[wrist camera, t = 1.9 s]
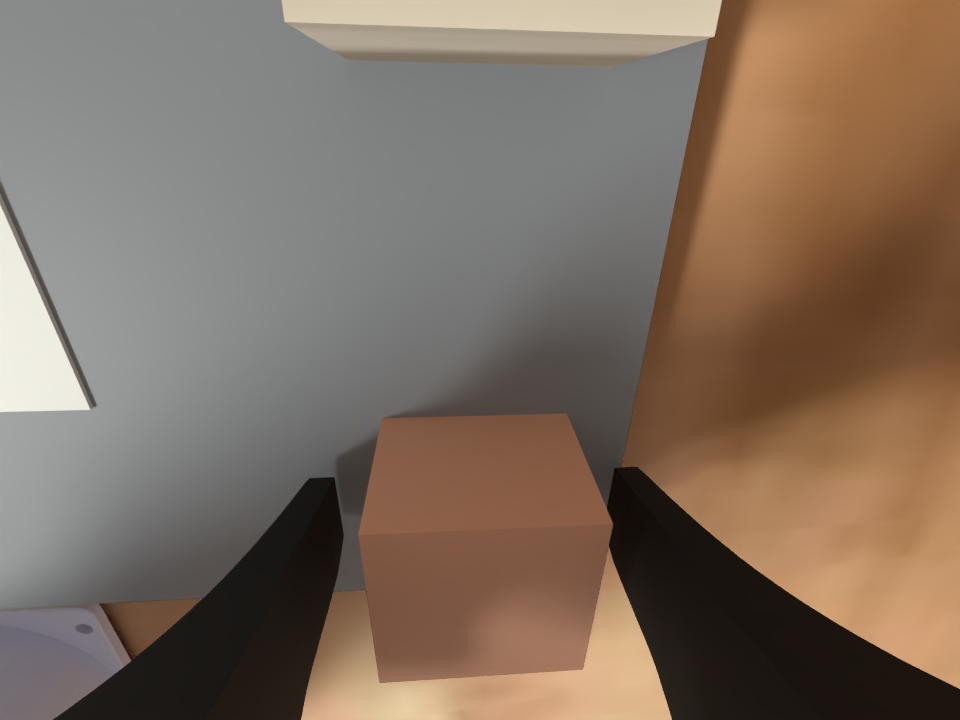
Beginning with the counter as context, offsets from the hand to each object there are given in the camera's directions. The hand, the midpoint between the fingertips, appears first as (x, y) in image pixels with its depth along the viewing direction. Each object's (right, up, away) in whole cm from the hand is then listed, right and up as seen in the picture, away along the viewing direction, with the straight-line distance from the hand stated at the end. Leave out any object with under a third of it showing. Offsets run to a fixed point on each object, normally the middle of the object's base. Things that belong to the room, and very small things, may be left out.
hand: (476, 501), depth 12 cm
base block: (0, 0, 0) cm, 1 cm away
